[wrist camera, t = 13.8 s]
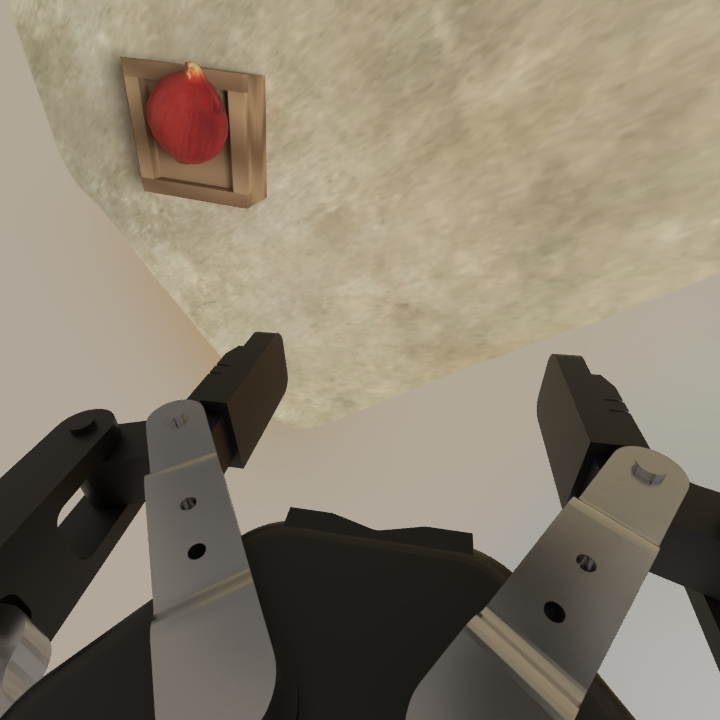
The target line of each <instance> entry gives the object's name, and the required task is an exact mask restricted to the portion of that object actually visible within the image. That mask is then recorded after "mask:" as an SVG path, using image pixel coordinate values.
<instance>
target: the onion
mask: <svg viewBox="0 0 720 720" xmlns="http://www.w3.org/2000/svg"><path fill="white" fill-rule="evenodd" d="M185 67H186V69H185V71H178V72H174V73H171V74H169V75H166V76H165V77H163V78H161V79H160V80H159V81H158V82H157V83H156V85H155V86H154V88H153V90H152V92H151V94H150V95H149V98H148V102H147V105H146V109H147V119H148V124H149V127H150V129H151V132H152V134H153V136H154V137H155V139H156V140H157V141H158V142H159V143H160V145H161V146H162V147H163V148H164V149H165V150H166V151H167V152H168V153H169V154H170V155H171V156H173V158H174V159H175V160H176V161H177V162H178V163H180V164H183V165H188V164H192V165H194V164H201V163H204V162H206V161H209V160H211V159H213V158H214V157H215V156H217V155H218V154H219V153H220V151H221V150H222V148H223V146H224V144H225V142H226V139H227V137H228V127H229V126H228V118H227V115H226V111H225V108H224V105H223V102H222V100H221V97H220V95H219V94H218V92H217V91H216V89H215V88H214V87H213V85H212V84H211V83H210V82H209V81H208V80H207V78H206V76H205V75H204V73H203V72H202V70H201V68H200V66H199V65H197V64H195V63H194V62H185Z"/></svg>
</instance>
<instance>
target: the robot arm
mask: <svg viewBox="0 0 720 720" xmlns="http://www.w3.org/2000/svg"><path fill="white" fill-rule="evenodd" d="M287 381H288V374H287V367H286V360H285V353H284V346H283V340H282V337H281V335H280V334H279V333H267V332H255V333H254V334H253V335H252V336H251V338H250V339H249V340H248V341H247V342H246V344H245V345H244V346H238V347H236V348H234V349H233V350H231V351H229V352H228V353H226V354H225V355H224V356H223V357H222V359H221V360H220V361H219V362H218V363H217V366H215V367H214V368H213V369H212V370H211V371H210V374H208V375H207V376H206V377H205V378H204V380H203V381H202V382H201V383H200V384H199V386H198V387H197V388H196V389H195V390H194V391H193V392H192V394H191V395H190V396H189V397H188V398H187V399H186V400H177V401H173V402H170V403H167V404H165V405H163V406H161V407H159V408H158V409H156V410H155V411H154V412H153V413H152V414H151V415H150V416H149V417H148V419H147V421H141V422H133V423H125V424H118V423H117V421H116V419H115V416H114V414H113V413H112V412H110V411H108V410H105V409H93V410H87V411H84V412H81V413H78V414H75V415H73V416H71V417H69V418H67V419H66V420H64V421H63V422H61V423H60V424H59V425H58V426H57V427H56V428H55V429H53V430H52V431H51V432H50V433H49V434H48V435H47V436H46V437H45V438H44V439H43V440H41V441H40V442H39V443H38V444H37V445H36V446H35V447H34V448H33V449H32V450H31V451H29V452H28V453H27V454H26V455H25V456H24V457H23V458H22V459H21V460H20V461H19V462H17V463H16V464H15V465H14V466H13V467H12V468H11V469H10V470H9V471H8V472H7V473H6V474H5V475H4V476H2V477H1V478H0V720H636V719H635V718H634V717H633V716H632V715H631V713H630V712H629V711H628V710H627V708H626V707H625V706H624V705H623V704H622V702H621V701H620V700H619V699H618V697H617V696H616V695H615V694H614V693H613V691H612V690H611V689H610V688H609V686H608V685H607V684H606V683H605V682H604V680H603V679H602V678H601V677H600V675H599V674H598V673H597V671H598V669H599V667H600V665H601V663H602V661H603V659H604V657H605V656H606V653H607V652H608V649H609V648H610V646H611V644H612V641H613V639H614V638H615V636H616V634H617V632H618V630H619V628H620V626H621V624H622V622H623V620H624V618H625V616H626V614H627V613H628V611H629V609H630V607H631V605H632V603H633V601H634V599H635V597H636V595H637V593H638V591H639V589H640V587H641V585H642V583H643V581H644V579H645V577H646V575H647V573H648V572H651V573H653V574H656V575H658V576H661V577H663V578H665V579H668V580H670V581H673V582H675V583H678V584H680V585H682V586H684V587H685V589H686V591H687V594H688V596H689V599H690V601H691V604H692V606H693V609H694V611H695V613H696V616H697V618H698V621H699V623H700V625H701V628H702V630H703V632H704V635H705V638H706V640H707V642H708V645H709V647H710V649H711V652H712V654H713V657H714V659H715V662H716V664H717V666H718V669H719V671H720V493H719V492H716V491H713V490H710V489H707V488H704V487H701V486H698V485H695V484H692V483H690V482H689V479H688V477H687V475H686V473H685V472H684V471H683V469H682V468H681V467H680V466H679V465H678V464H676V463H675V462H674V461H673V460H671V459H670V458H668V457H667V456H665V455H663V454H661V453H659V452H656V451H654V450H651V449H650V448H649V446H648V444H647V442H646V441H645V439H644V437H643V436H642V433H641V432H640V430H639V429H638V426H637V425H636V423H635V421H634V419H633V418H632V416H631V414H629V413H628V412H629V411H628V409H627V407H626V405H625V404H624V403H622V398H621V396H620V395H619V393H618V391H617V389H616V388H615V386H613V385H612V384H611V383H609V382H608V381H607V380H606V379H605V378H603V377H602V376H601V375H593V374H591V373H590V371H589V369H588V367H587V365H586V363H585V361H584V359H583V357H581V356H574V355H560V354H552V355H551V356H550V358H549V360H548V364H547V367H546V371H545V374H544V378H543V382H542V386H541V389H540V392H539V396H538V401H537V418H538V422H539V425H540V429H541V433H542V436H543V440H544V443H545V447H546V451H547V455H548V458H549V462H550V466H551V469H552V473H553V477H554V480H555V484H556V487H557V491H558V495H559V499H560V502H561V506H562V511H561V512H560V513H559V515H558V516H557V517H556V518H555V520H554V521H553V522H552V524H551V525H550V526H549V527H548V529H547V530H546V531H545V532H544V534H543V535H542V536H541V537H540V539H539V540H538V541H537V543H536V544H535V545H534V547H533V548H532V549H531V550H530V551H529V553H528V554H527V555H526V556H525V558H524V559H523V560H522V562H521V563H520V564H519V565H518V567H517V568H516V569H515V570H514V572H513V573H512V572H511V571H510V570H509V569H507V568H506V567H505V566H504V565H502V564H501V563H499V562H498V561H496V560H495V559H493V558H492V557H489V556H487V555H486V554H484V553H482V552H480V551H477V550H475V549H473V535H472V533H466V532H459V531H452V530H445V529H438V528H431V527H415V528H404V529H393V530H381V531H380V530H379V531H378V530H373V529H370V528H368V527H365V526H363V525H360V524H358V523H356V522H353V521H351V520H348V519H346V518H343V517H340V516H338V515H336V514H333V513H327V512H321V511H314V510H306V509H299V508H293V507H290V510H289V512H288V515H287V518H286V520H285V521H282V522H276V523H271V524H267V525H265V526H261V527H258V528H256V529H254V530H251V531H249V532H247V533H245V534H244V535H242V536H241V532H240V529H239V526H238V522H237V519H236V515H235V512H234V509H233V505H232V502H231V498H230V495H229V491H228V488H227V484H226V481H225V478H224V473H225V472H226V470H227V468H228V467H236V468H244V467H245V465H246V463H247V461H248V459H249V457H250V456H251V454H252V452H253V450H254V448H255V447H256V445H257V443H258V441H259V439H260V438H261V436H262V434H263V432H264V430H265V428H266V427H267V425H268V423H269V421H270V419H271V417H272V416H273V414H274V412H275V410H276V408H277V406H278V405H279V403H280V401H281V399H282V397H283V395H284V394H285V391H286V388H287ZM80 487H81V489H82V491H83V492H84V494H85V495H84V496H83V498H82V499H81V500H80V501H79V502H78V504H77V505H76V506H75V507H74V509H73V510H72V511H71V512H70V513H69V515H68V516H67V517H66V518H65V519H64V521H63V522H62V523H61V524H60V525H59V527H57V519H58V516H59V513H60V511H61V509H62V507H63V506H64V505H65V504H66V503H67V501H68V500H69V499H70V498H71V497H72V496H73V494H74V493H75V492H76V491H77V490H78V489H79V488H80ZM144 502H146V514H147V527H148V541H149V554H150V566H151V579H152V593H153V599H151V600H150V601H149V602H147V603H146V604H145V605H143V606H142V607H140V608H139V609H137V610H136V611H135V612H133V613H132V614H131V615H129V616H128V617H126V618H125V619H124V620H122V621H121V622H119V623H118V624H117V625H115V626H114V627H112V628H111V629H110V630H108V631H107V632H105V633H104V634H103V635H101V636H100V637H98V638H97V639H96V640H94V641H93V642H91V643H90V644H89V645H87V646H86V647H84V648H83V649H82V650H80V651H79V652H77V653H76V654H75V655H73V656H72V657H71V658H69V659H68V660H66V661H65V662H63V663H62V664H61V665H59V666H58V667H56V668H55V669H54V670H52V671H51V672H49V673H48V674H47V675H45V676H43V674H44V673H45V671H46V669H47V667H48V663H49V661H50V657H51V643H50V642H51V641H52V639H53V638H54V636H55V634H56V633H57V632H58V630H59V629H60V627H61V626H62V624H63V623H64V621H65V620H66V618H67V617H68V615H69V614H70V612H71V611H72V609H73V608H74V606H75V605H76V603H77V602H78V600H79V599H80V597H81V596H82V594H83V593H84V591H85V590H86V588H87V587H88V586H89V584H90V583H91V581H92V580H93V578H94V576H95V575H96V574H97V572H98V571H99V569H100V568H101V566H102V565H103V563H104V562H105V560H106V559H107V557H108V556H109V554H110V553H111V551H112V550H113V548H114V547H115V545H116V544H117V542H118V540H119V539H120V538H121V536H122V535H123V533H124V532H125V530H126V529H127V527H128V526H129V524H130V523H131V521H132V520H133V518H134V517H135V515H136V514H137V512H138V511H139V510H140V508H141V506H142V505H143V504H144Z"/></svg>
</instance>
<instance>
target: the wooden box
mask: <svg viewBox="0 0 720 720" xmlns="http://www.w3.org/2000/svg"><path fill="white" fill-rule="evenodd" d="M120 58H121V63H122V69H123V75H124V80H125V86H126V91H127V97H128V103H129V108H130V114H131V120H132V125H133V131H134V137H135V142H136V148H137V154H138V159H139V165H140V171H141V176H142V182H143V188H144V191H148V192H153V193H159V194H165V195H171V196H177V197H182V198H188V199H194V200H200V201H205V202H211V203H217V204H223V205H229V206H234V207H240V208H246V209H247V208H249V207H251V206H253V205H254V204H256V203H258V202H260V201H261V200H263V199H265V198H266V197H267V182H266V108H265V76H261V75H254V74H247V73H240V72H233V71H226V70H219V69H212V68H205V67H200V68H201V70H202V72H203V73H204V75H205V76H206V78H207V80H208V81H209V82H210V83H211V84H212V85H213V87H214V88H215V89H216V91H217V92H218V94H219V95H220V97H221V100H222V102H223V105H224V108H225V111H226V115H227V118H228V126H229V127H228V137H227V139H226V142H225V144H224V146H223V148H222V150H221V151H220V153H219V154H218V155H217V156H215V157H214V158H213V159H211V160H209V161H206V162H204V163H201V164H194V165H192V164H188V165H183V164H180V163H178V162H177V161H176V160H175V159H174V158H173V156H171V155H170V154H169V153H168V152H167V151H166V150H165V149H164V148H163V147H162V146H161V145H160V143H159V142H158V141H157V140H156V139H155V137H154V136H153V134H152V132H151V129H150V127H149V124H148V119H147V109H146V105H147V102H148V98H149V95H150V94H151V92H152V90H153V88H154V86H155V85H156V83H157V82H158V81H159V80H160V79H161V78H163V77H165V76H166V75H169V74H171V73H174V72H178V71H185V69H186V67H185V65H184V64H177V63H170V62H163V61H155V60H146V59H136V58H126V57H120Z"/></svg>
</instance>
